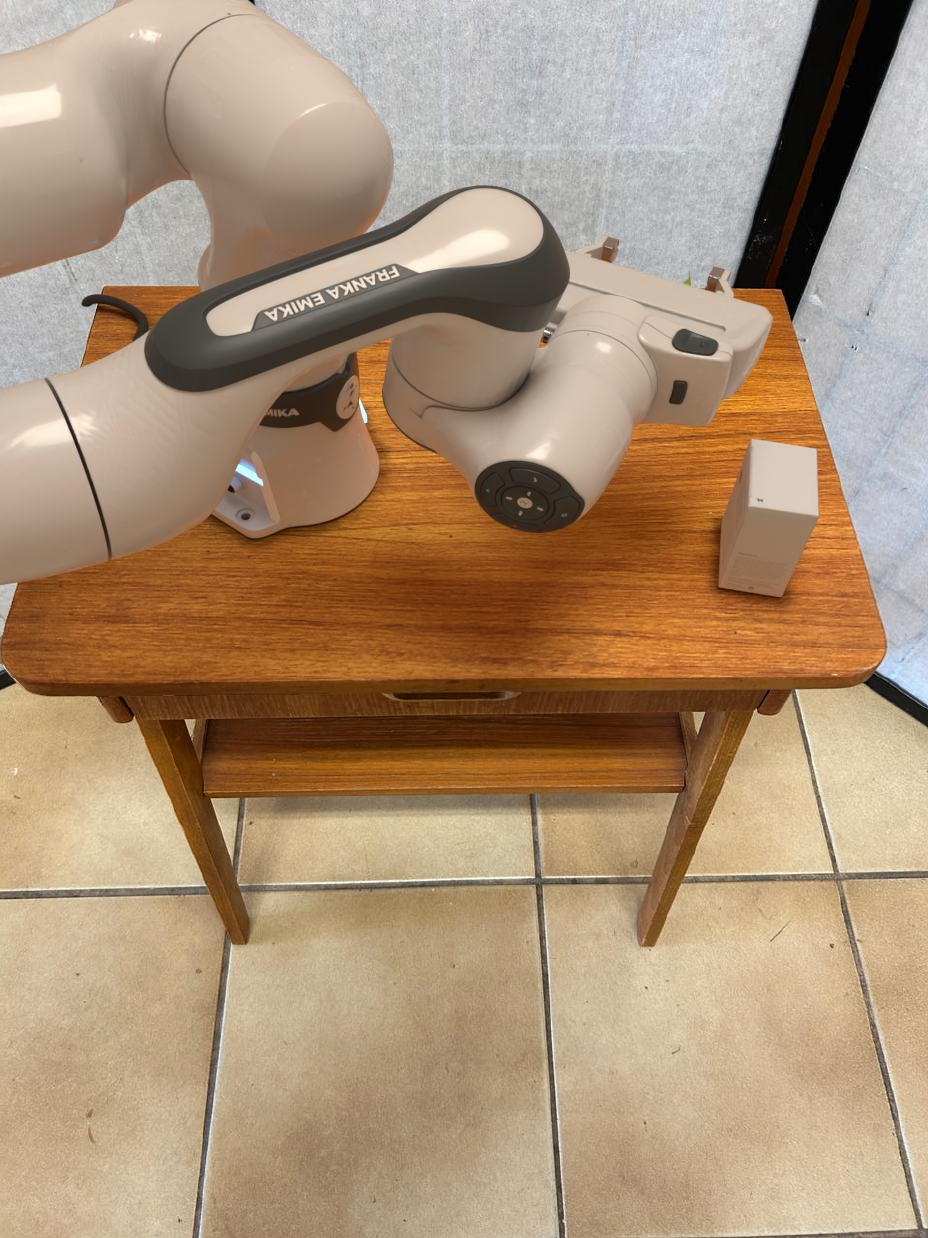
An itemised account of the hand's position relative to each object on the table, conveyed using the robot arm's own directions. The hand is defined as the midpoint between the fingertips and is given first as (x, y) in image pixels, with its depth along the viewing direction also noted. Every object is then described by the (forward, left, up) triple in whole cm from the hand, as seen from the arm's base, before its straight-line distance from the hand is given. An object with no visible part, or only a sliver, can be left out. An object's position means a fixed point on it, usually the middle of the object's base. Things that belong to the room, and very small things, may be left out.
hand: (664, 259), depth 78 cm
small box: (+15, -10, -20) cm, 27 cm away
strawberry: (0, +12, -19) cm, 22 cm away
